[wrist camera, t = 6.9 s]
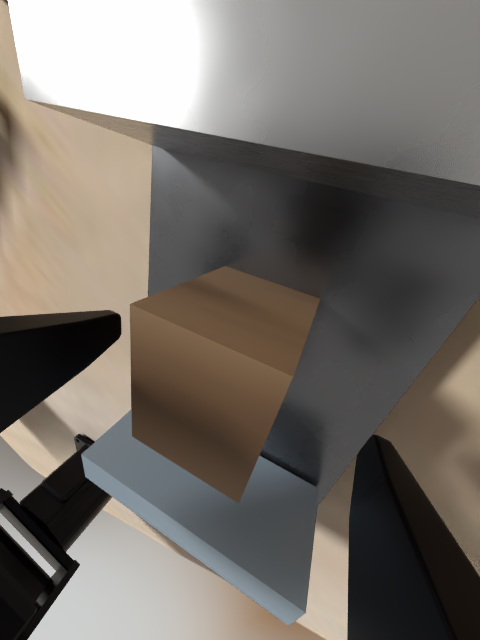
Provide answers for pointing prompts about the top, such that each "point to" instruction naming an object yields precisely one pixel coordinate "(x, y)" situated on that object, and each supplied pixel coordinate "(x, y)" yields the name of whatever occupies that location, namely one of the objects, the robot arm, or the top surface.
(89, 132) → the top surface
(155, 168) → the vise base
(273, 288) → the walnut block
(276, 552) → the plate
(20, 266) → the top surface
